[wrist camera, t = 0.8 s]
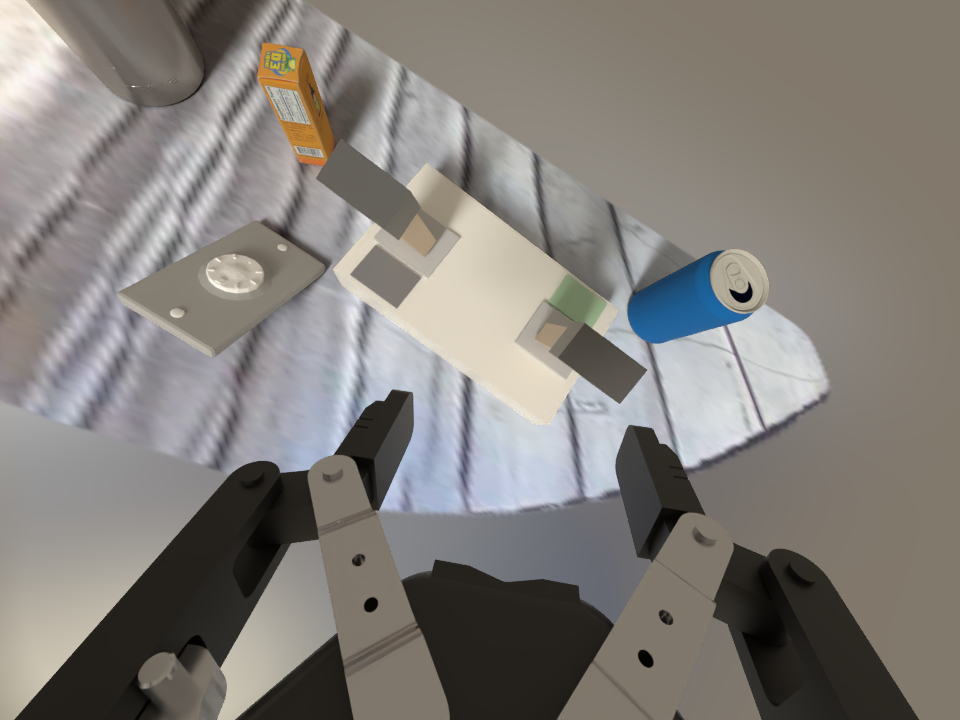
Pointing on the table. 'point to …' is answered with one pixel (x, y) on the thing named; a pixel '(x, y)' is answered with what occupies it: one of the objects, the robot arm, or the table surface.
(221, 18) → the table surface
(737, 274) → the beverage can
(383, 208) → the lever charcoal
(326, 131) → the supplement box
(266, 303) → the light switch
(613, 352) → the tan lever
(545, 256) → the switch unit
